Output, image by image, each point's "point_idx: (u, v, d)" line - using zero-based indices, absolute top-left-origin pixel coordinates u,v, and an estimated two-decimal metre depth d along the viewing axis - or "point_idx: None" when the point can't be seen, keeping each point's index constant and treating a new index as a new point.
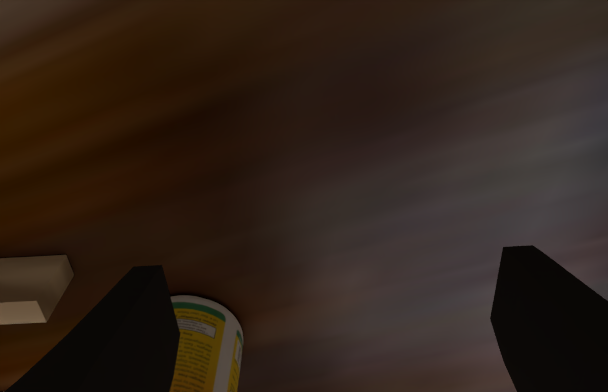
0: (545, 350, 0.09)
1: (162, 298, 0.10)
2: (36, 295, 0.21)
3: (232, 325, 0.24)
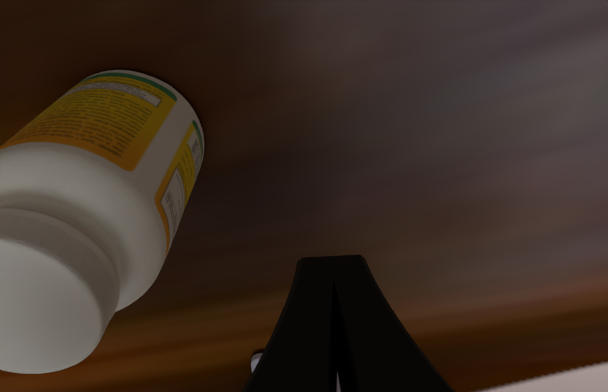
0: (343, 360, 0.09)
1: None
2: None
3: (187, 110, 0.18)
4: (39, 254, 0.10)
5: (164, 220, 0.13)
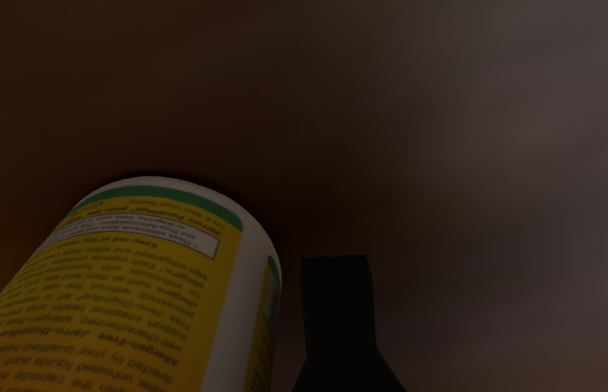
0: None
1: None
2: None
3: (259, 242, 0.11)
4: None
5: None
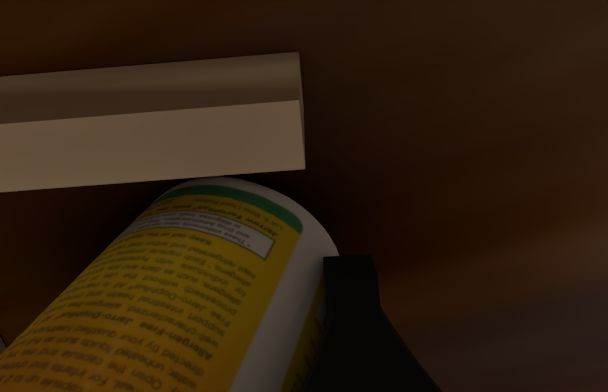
0: None
1: None
2: (290, 94, 0.08)
3: (319, 245, 0.11)
4: None
5: None
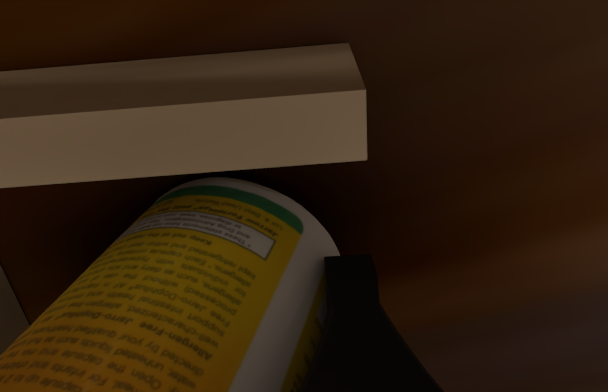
0: None
1: None
2: (355, 83, 0.08)
3: (320, 245, 0.11)
4: None
5: None
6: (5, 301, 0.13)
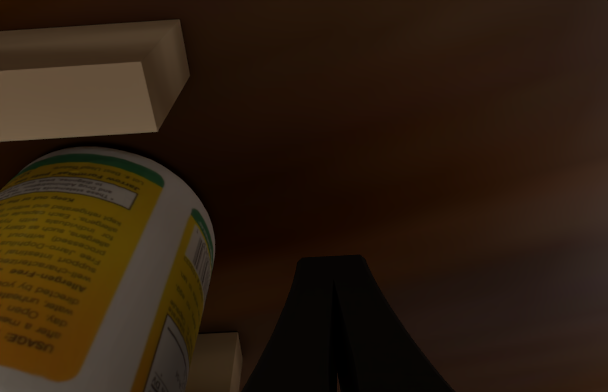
0: (344, 360, 0.09)
1: None
2: (137, 56, 0.08)
3: (182, 197, 0.12)
4: None
5: None
6: None
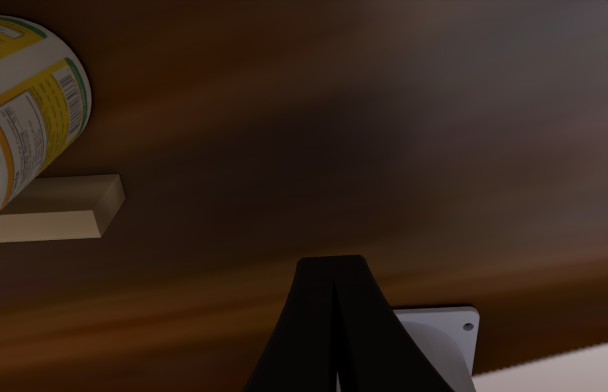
0: (344, 360, 0.09)
1: None
2: None
3: (59, 48, 0.18)
4: None
5: None
6: None
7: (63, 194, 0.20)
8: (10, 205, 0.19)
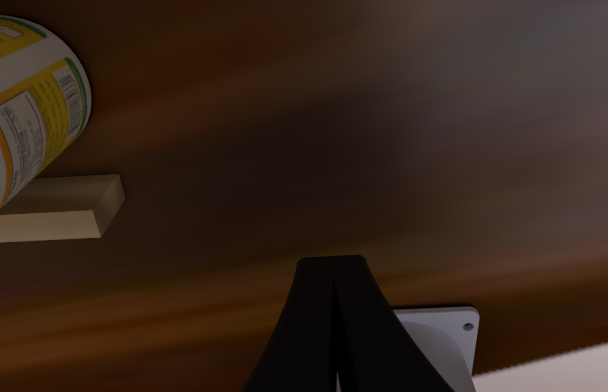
0: (344, 360, 0.09)
1: None
2: None
3: (59, 48, 0.18)
4: None
5: None
6: None
7: (63, 194, 0.20)
8: (10, 205, 0.19)
